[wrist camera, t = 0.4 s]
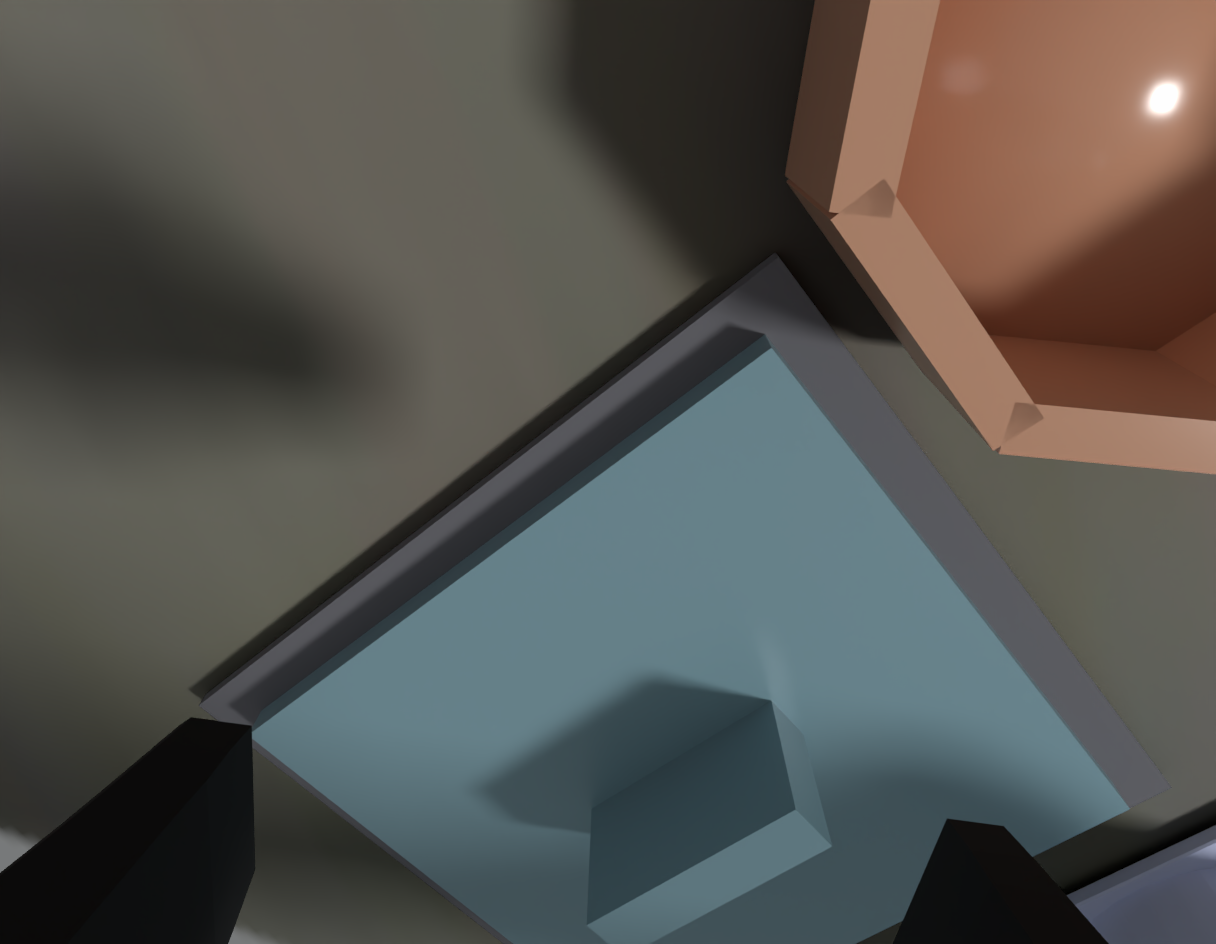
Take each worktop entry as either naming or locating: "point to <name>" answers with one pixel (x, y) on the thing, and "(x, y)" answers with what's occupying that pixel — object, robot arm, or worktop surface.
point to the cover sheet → (692, 697)
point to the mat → (617, 412)
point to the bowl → (1029, 210)
